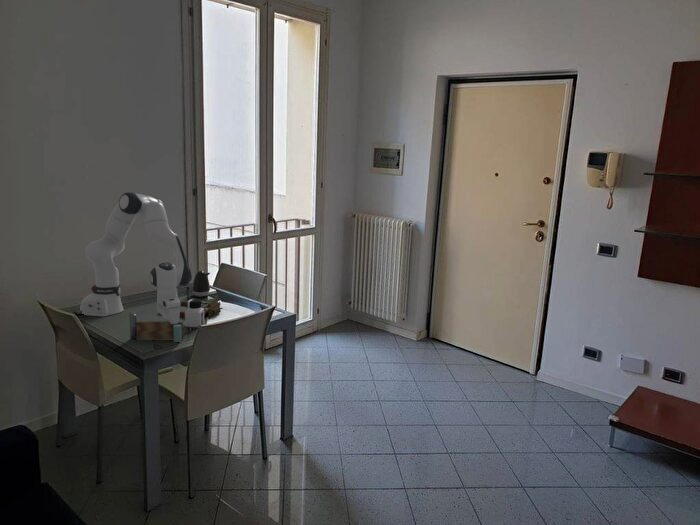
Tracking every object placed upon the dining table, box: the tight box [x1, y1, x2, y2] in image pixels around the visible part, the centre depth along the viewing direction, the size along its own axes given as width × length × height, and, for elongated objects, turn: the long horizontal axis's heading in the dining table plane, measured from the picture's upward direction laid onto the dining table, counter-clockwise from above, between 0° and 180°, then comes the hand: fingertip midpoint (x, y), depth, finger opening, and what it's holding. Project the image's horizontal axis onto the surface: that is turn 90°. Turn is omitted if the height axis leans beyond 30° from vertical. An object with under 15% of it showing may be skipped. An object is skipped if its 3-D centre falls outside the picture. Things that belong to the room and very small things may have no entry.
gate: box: [137, 320, 184, 340], centre depth 239 cm, size 20×2×8 cm, turn 97°
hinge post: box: [128, 313, 138, 341], centre depth 237 cm, size 3×3×12 cm
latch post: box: [173, 324, 183, 343], centre depth 238 cm, size 3×3×8 cm
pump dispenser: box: [191, 270, 211, 298], centre depth 307 cm, size 10×10×15 cm
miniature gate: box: [157, 297, 223, 320], centre depth 279 cm, size 27×6×30 cm
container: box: [184, 298, 205, 328], centre depth 260 cm, size 8×8×13 cm
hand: (168, 326), depth 241 cm, fingers closed
